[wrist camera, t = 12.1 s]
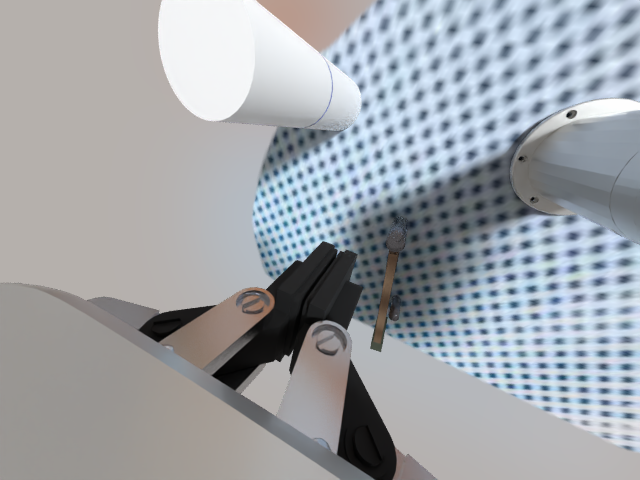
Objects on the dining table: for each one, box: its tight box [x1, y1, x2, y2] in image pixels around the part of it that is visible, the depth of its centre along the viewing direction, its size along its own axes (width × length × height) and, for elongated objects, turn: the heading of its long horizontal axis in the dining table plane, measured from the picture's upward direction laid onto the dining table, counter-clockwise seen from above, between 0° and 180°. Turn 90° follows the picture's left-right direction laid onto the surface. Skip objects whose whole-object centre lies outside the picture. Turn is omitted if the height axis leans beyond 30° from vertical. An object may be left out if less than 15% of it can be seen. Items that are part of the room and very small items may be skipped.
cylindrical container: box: [158, 0, 361, 131], centre depth 24 cm, size 7×7×25 cm
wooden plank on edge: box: [371, 250, 399, 352], centre depth 38 cm, size 19×2×7 cm, turn 179°
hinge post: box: [386, 217, 408, 252], centre depth 34 cm, size 2×2×8 cm
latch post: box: [389, 296, 401, 321], centre depth 41 cm, size 2×2×5 cm
